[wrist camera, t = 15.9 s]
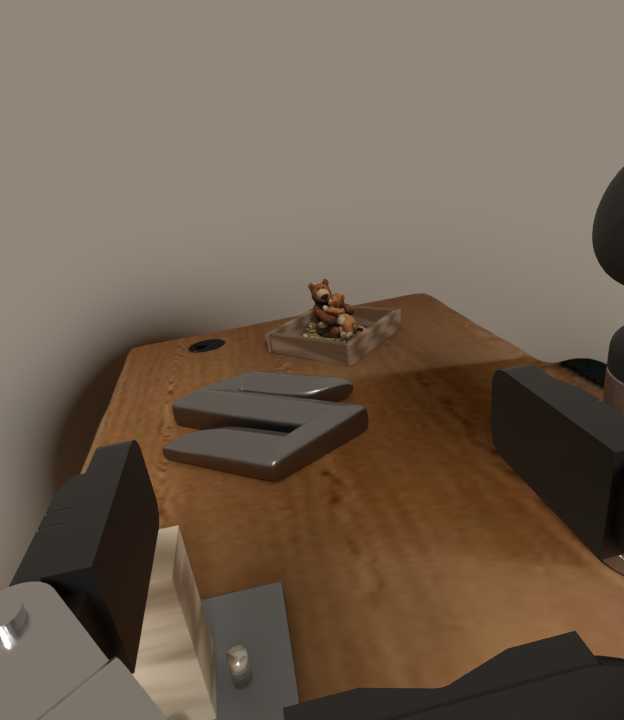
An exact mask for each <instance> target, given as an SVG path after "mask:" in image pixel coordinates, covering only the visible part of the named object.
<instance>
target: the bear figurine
mask: <svg viewBox="0 0 624 720" xmlns="http://www.w3.org/2000/svg"><path fill="white" fill-rule="evenodd" d="M308 288H309V289H310V290H311V293H312V299H313V300H314V302H315V305H314V308H313V309H314V312H315V314H316V324H314V323H311V324H309V325H308V327H309V328H307V329H306V330H307V332H306V333H305V334H303V336H304V337H312V338H319V339H327V340H334V341H342V342H348V341H350V340H351V339H352V338H354V337H355V336H357V335H358V334H360V333H361V332H362V331H364V330H365V328H364V327H363V326H361V325H359V324H357V321H356V320H355V318H354V316H352V315H353V314H354V312H355V309H354V307H353V306H351V305H349V304H345V303H344V294H339V293H335V294H333V295H332V296H331V291H330V289H329V287H328V280H326V279H324V280H323V282H322V283H320V284H317V285H313V284H311V283H310V285H309V286H308Z"/></svg>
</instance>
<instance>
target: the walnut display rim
mask: <svg viewBox="0 0 624 720" xmlns="http://www.w3.org/2000/svg"><path fill="white" fill-rule="evenodd" d="M351 306H353V307H354V309H355V312H354V314H353V315H352V316H354V318H355V320H356V321H357V324H359V325H362V326H370V327H368V328H367V329H365V330H364V331H362V332H361V333H360V334H358V335H357V336H355V337H354V338H352V339H351V340H350V341H348V342H342V341H334V340H327V339H319V338H312V337H304V336H303V334H305V333H306V332H307V330H306V329H307V328H309V327H308V325H309V324H311V323H314V324H316V314H315V312H314V309H311V310H309V311H307V312H305V313H304V314H302V315H300V316H298V317H296V318H294V319H292V320H291V321H289V322H287V323H285V324H283V325H281V326H280V327H278V328H276V329H274V330H272V331H270V332H269V333H267V334H266V339H267V344H268V350H269V353H274V354H281V355H287V356H293V357H299V358H305V359H311V360H317V361H324V362H330V363H336V364H342V365H348V366H352V365H354V364H355V363H356V362H357V361H359V360H360V359H361V358H363V357H364V356H365V355H366V354H368V353H369V352H370V351H372V350H373V349H374V348H375V347H377V346H378V345H379V344H381V343H382V342H383V341H384V340H386V339H387V338H388V337H390V336H391V335H392V334H394V333H395V332H396V331H397V330H399V329H400V328H401V312H400V309H391V308H379V307H367V306H354V305H351Z"/></svg>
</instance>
